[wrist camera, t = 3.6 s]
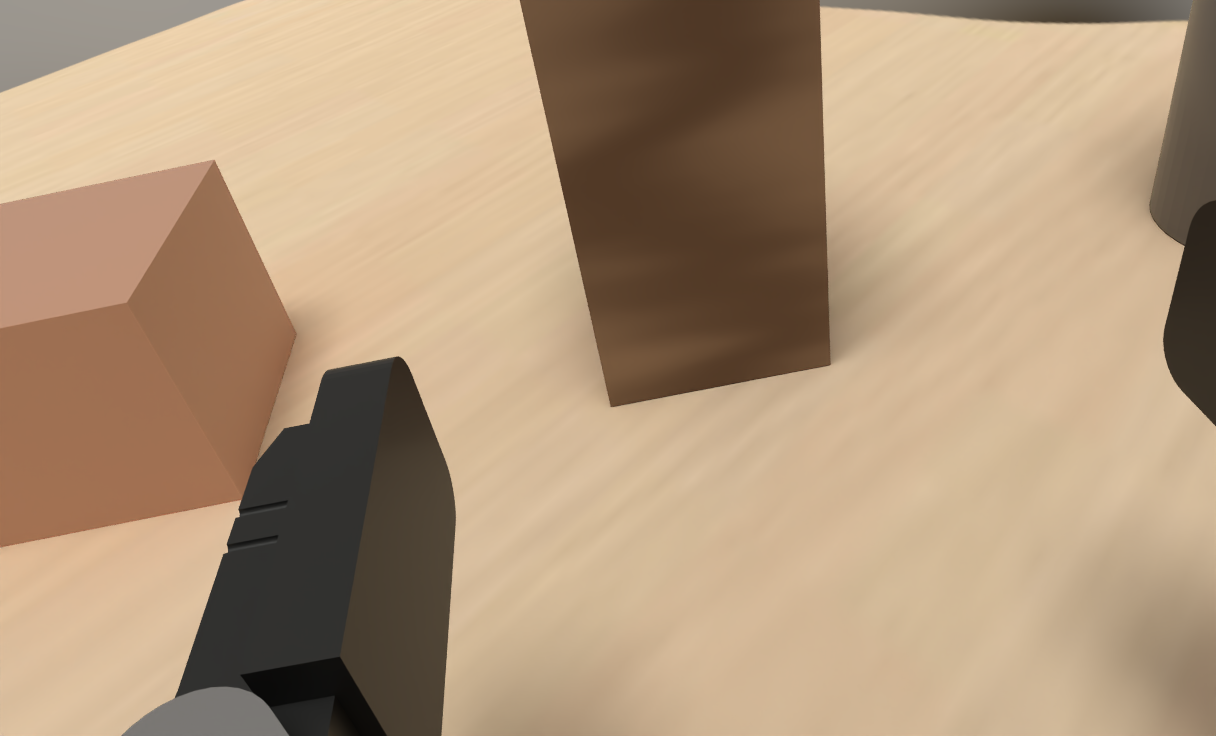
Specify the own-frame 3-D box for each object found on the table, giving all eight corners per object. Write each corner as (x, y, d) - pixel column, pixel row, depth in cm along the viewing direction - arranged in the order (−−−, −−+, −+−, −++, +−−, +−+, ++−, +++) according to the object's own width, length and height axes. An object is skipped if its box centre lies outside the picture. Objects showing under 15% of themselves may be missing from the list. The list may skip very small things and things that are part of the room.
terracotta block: (-35, 558, 19) (-208, 370, 16) (73, 382, 23) (-42, 212, 20) (246, 503, 19) (126, 302, 16) (298, 337, 23) (214, 159, 20)
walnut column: (610, 406, 19) (472, -212, 12) (593, 289, 22) (480, -234, 16) (830, 364, 19) (810, -285, 12) (777, 253, 22) (740, -290, 16)
